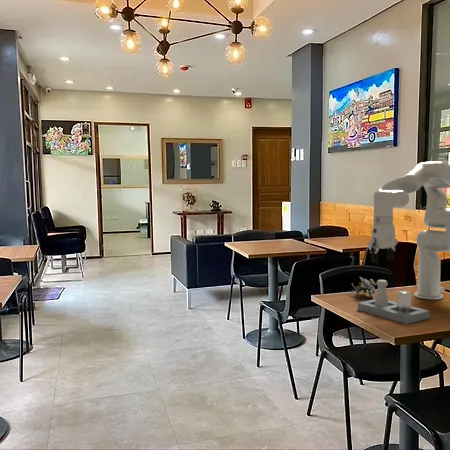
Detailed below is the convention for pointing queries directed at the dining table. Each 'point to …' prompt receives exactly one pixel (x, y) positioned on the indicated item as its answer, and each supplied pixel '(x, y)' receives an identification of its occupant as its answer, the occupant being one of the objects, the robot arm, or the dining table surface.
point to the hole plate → (394, 312)
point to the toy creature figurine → (365, 287)
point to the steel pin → (404, 302)
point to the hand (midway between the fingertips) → (382, 261)
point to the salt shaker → (381, 294)
